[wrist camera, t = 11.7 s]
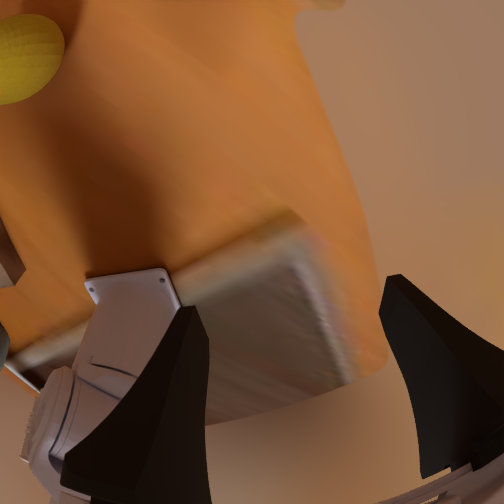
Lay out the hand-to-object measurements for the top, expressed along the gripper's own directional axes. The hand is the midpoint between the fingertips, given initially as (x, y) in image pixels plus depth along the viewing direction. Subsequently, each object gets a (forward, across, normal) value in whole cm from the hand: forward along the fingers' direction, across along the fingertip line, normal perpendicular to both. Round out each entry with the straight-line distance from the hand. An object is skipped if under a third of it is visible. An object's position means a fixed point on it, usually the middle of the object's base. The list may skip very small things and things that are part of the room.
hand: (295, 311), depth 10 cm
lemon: (+11, +12, -14) cm, 21 cm away
